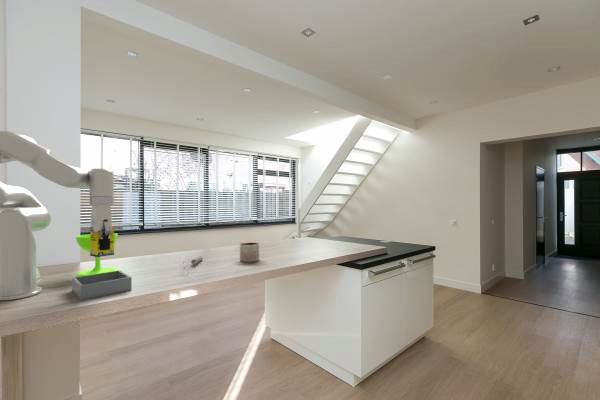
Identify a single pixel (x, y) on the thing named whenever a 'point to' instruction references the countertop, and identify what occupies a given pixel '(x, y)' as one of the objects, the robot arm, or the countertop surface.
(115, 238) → the wineglass
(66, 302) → the countertop surface
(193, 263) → the kitchen whisk
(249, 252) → the planter
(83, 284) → the bin
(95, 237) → the supplement box
